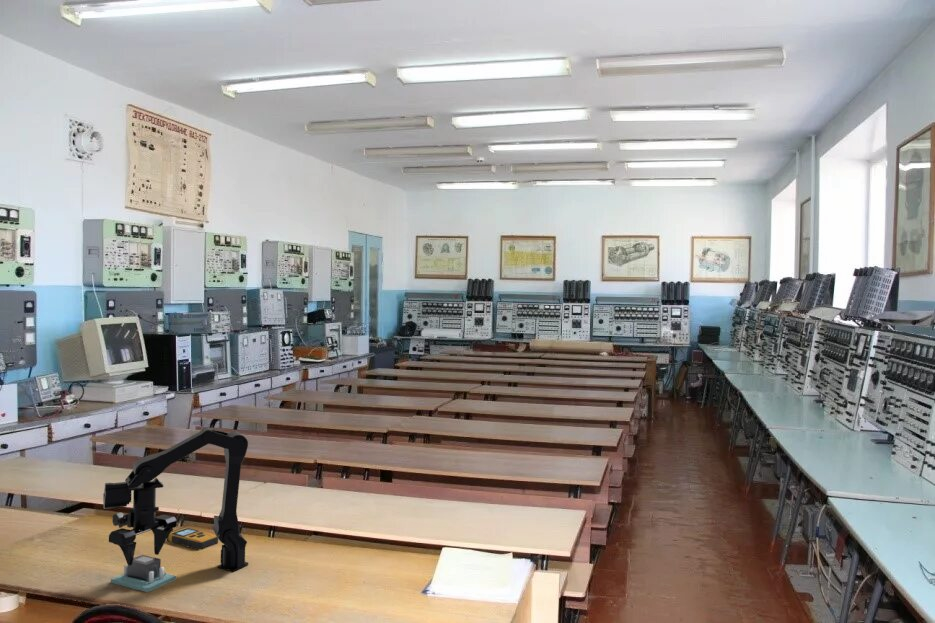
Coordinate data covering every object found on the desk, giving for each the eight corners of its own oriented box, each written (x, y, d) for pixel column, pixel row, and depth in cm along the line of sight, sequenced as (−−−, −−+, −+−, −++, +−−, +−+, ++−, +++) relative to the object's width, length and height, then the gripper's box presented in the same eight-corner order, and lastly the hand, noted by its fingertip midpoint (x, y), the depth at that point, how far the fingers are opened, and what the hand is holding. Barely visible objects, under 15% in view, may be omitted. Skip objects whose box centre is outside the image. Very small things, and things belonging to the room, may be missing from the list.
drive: (160, 576, 204) (160, 558, 204) (145, 582, 200) (146, 564, 200) (142, 572, 207) (142, 554, 207) (127, 578, 203) (127, 560, 202)
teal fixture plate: (176, 579, 205) (176, 565, 205) (147, 592, 196) (147, 577, 196) (140, 570, 211) (140, 556, 211) (110, 582, 202) (110, 568, 202)
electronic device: (199, 552, 229) (199, 541, 228) (165, 542, 236) (165, 532, 236) (220, 544, 236) (220, 534, 236) (186, 535, 243) (186, 525, 243)
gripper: (150, 492, 215) (149, 545, 215) (94, 508, 198) (93, 565, 198) (178, 497, 210) (177, 551, 210) (124, 514, 193) (123, 572, 193)
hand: (143, 559), depth 203 cm, fingers open, 9 cm apart
